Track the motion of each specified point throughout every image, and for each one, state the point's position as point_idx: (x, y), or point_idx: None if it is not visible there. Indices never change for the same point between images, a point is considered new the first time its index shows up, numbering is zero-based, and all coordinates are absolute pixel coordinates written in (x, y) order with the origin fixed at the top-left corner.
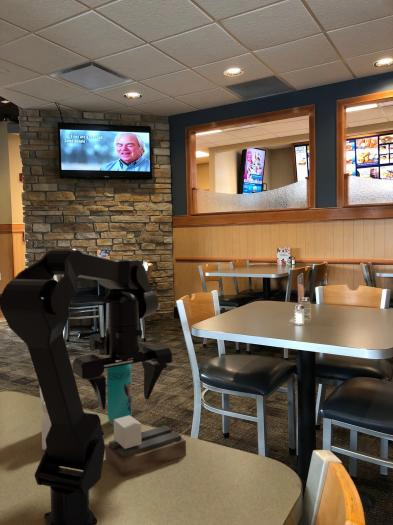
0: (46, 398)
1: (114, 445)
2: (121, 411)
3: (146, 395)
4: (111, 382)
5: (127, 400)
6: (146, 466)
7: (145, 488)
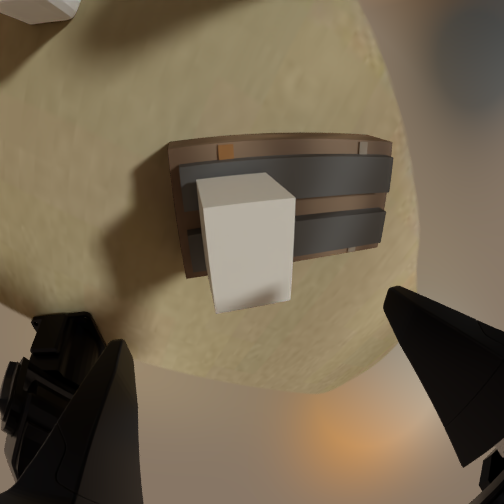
0: None
1: (186, 208)
2: None
3: (394, 320)
4: None
5: None
6: None
7: (215, 311)
